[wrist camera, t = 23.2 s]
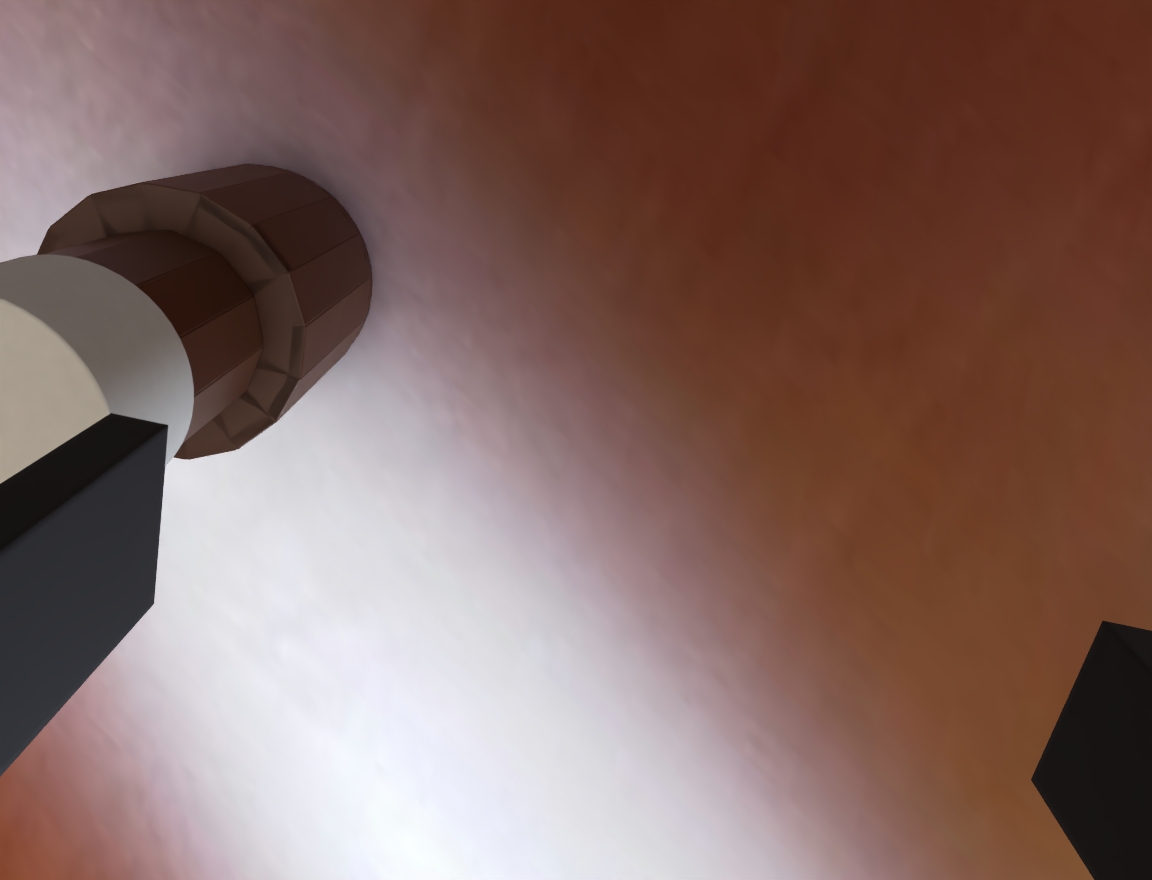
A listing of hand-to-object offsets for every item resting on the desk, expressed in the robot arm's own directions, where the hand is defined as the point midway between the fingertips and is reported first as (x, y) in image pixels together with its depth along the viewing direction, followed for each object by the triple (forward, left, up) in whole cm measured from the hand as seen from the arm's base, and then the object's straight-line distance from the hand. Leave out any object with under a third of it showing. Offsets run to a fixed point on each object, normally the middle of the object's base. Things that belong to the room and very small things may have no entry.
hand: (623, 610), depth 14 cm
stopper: (+12, -8, -17) cm, 22 cm away
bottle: (+12, -8, -29) cm, 32 cm away
